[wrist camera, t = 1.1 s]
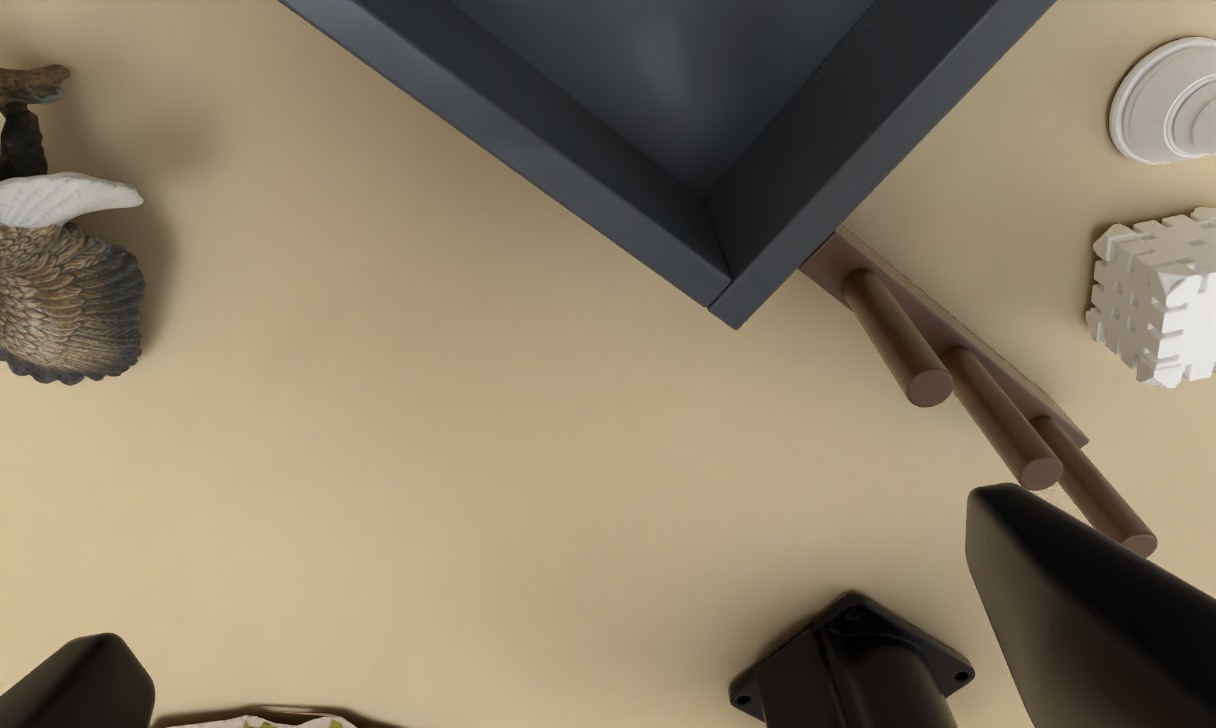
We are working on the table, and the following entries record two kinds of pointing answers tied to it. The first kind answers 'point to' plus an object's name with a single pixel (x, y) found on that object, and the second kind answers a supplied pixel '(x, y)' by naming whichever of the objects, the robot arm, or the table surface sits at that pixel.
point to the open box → (690, 110)
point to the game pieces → (1162, 225)
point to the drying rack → (971, 383)
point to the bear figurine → (246, 724)
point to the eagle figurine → (59, 253)
